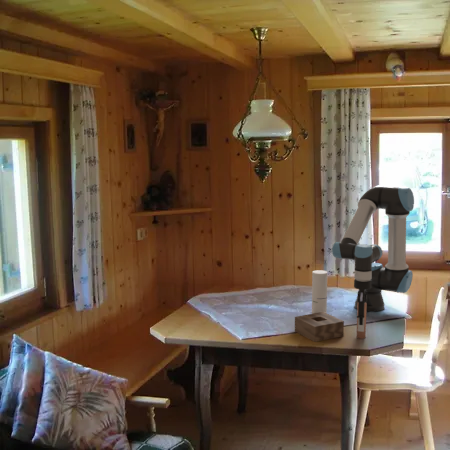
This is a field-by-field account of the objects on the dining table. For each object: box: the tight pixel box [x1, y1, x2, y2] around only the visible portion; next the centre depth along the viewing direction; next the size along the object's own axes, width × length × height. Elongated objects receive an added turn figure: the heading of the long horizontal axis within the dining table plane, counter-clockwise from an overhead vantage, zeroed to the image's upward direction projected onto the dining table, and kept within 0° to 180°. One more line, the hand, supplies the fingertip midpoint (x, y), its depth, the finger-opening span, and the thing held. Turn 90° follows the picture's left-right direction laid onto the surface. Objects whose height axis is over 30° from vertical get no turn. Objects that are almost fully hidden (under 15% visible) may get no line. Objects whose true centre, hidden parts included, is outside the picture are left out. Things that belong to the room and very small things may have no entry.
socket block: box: [294, 312, 345, 342], centre depth 292 cm, size 16×16×7 cm
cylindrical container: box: [311, 269, 328, 314], centre depth 308 cm, size 7×7×25 cm
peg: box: [356, 302, 367, 340], centre depth 286 cm, size 4×4×16 cm
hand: (361, 329), depth 287 cm, fingers closed on peg, 4 cm apart
